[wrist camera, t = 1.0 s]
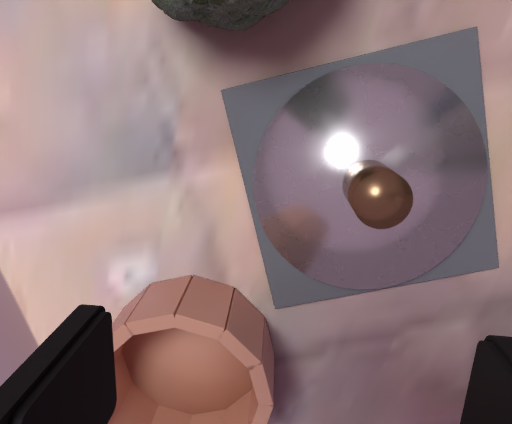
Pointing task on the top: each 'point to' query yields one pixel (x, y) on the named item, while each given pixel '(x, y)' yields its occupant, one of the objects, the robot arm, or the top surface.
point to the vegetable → (220, 11)
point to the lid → (370, 176)
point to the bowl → (192, 356)
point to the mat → (285, 86)
